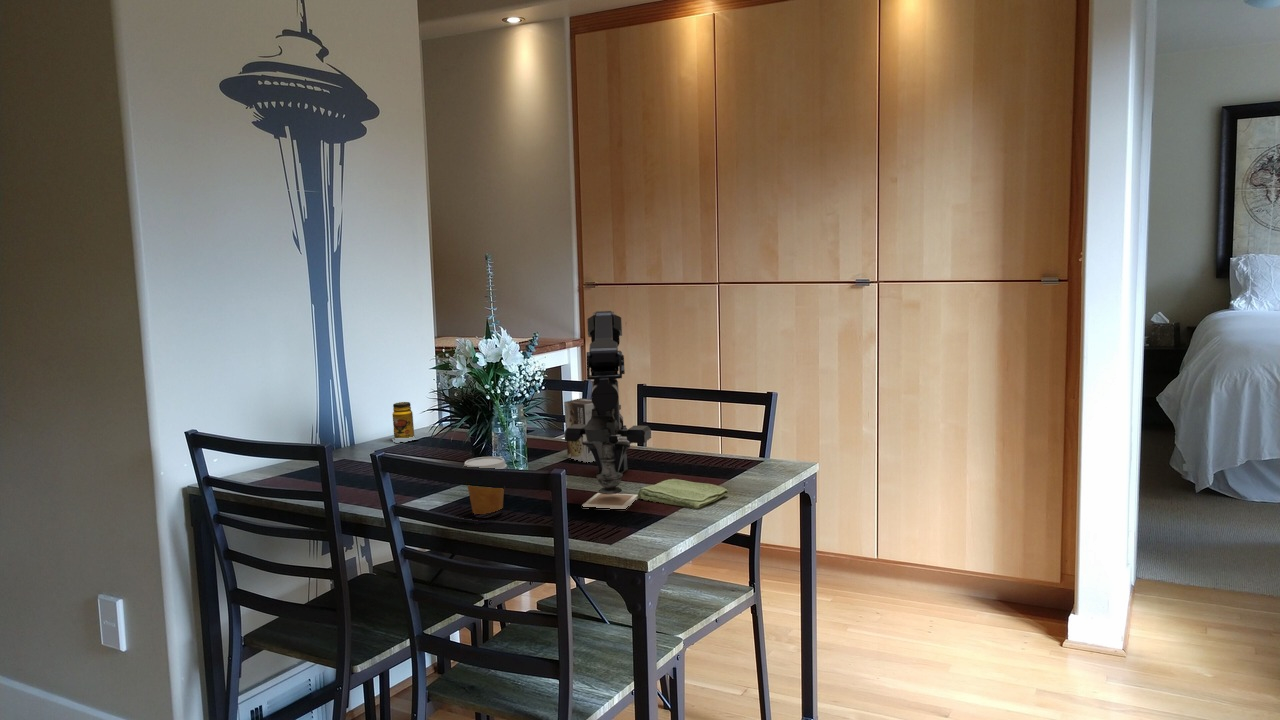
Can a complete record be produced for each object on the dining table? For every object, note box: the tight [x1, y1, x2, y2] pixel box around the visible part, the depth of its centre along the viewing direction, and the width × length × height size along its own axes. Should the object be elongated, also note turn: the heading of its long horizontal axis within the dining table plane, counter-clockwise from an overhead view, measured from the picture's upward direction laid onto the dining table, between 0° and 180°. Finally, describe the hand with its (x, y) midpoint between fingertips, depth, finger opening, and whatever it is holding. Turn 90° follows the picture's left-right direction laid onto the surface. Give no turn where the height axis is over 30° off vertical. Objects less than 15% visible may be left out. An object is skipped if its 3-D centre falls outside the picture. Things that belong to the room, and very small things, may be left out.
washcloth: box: [637, 478, 729, 510], centre depth 205 cm, size 13×18×3 cm
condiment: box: [392, 401, 415, 439], centre depth 283 cm, size 7×8×12 cm
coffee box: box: [563, 398, 596, 464], centre depth 247 cm, size 9×6×16 cm
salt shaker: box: [596, 439, 624, 494], centre depth 203 cm, size 6×6×12 cm
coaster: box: [581, 492, 640, 510], centre depth 204 cm, size 10×10×1 cm
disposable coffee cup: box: [463, 456, 508, 514], centre depth 198 cm, size 10×10×12 cm
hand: (609, 471), depth 203 cm, fingers closed on salt shaker, 3 cm apart
